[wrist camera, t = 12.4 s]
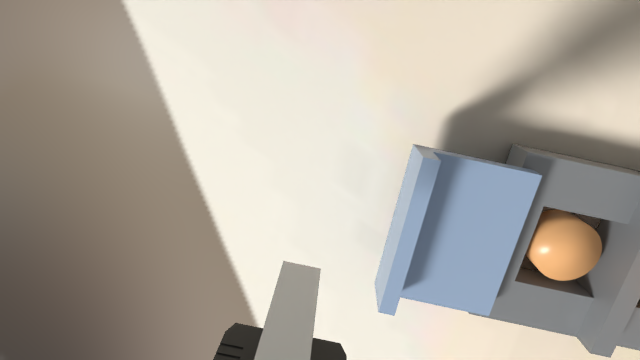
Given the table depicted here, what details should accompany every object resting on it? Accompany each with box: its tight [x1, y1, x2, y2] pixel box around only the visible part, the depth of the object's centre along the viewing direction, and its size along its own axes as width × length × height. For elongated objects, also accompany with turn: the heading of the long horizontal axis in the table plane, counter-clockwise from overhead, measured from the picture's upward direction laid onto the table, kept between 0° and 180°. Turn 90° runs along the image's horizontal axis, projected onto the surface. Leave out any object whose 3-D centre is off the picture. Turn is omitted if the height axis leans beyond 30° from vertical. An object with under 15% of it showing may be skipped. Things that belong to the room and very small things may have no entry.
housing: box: [468, 144, 640, 357], centre depth 28 cm, size 12×17×4 cm
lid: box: [375, 144, 542, 316], centre depth 26 cm, size 10×8×4 cm
